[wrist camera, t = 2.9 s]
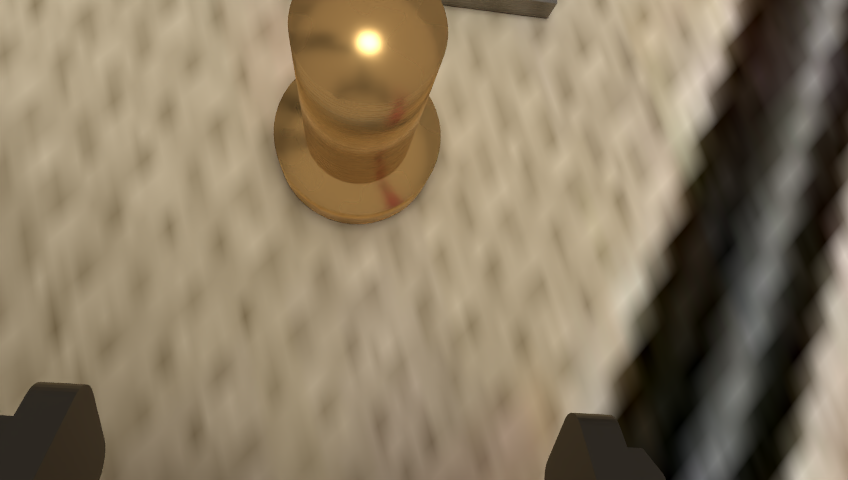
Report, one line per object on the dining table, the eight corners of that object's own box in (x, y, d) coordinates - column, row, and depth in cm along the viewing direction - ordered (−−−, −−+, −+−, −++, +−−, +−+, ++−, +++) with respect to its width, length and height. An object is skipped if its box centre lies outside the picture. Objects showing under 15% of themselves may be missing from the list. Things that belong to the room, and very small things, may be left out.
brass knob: (271, 217, 24) (225, 134, 14) (286, 67, 25) (253, -106, 15) (427, 230, 25) (486, 160, 15) (437, 84, 26) (497, -70, 16)
